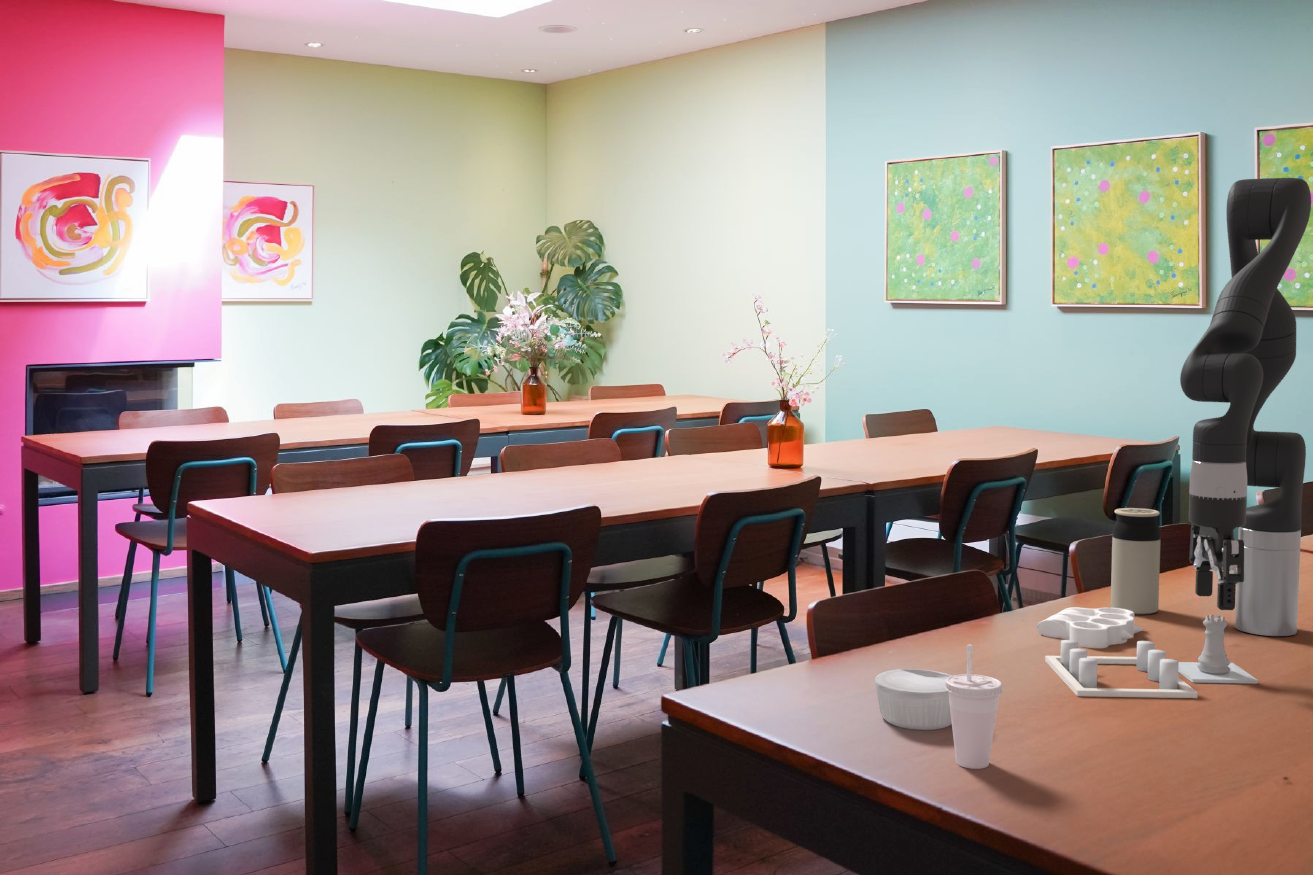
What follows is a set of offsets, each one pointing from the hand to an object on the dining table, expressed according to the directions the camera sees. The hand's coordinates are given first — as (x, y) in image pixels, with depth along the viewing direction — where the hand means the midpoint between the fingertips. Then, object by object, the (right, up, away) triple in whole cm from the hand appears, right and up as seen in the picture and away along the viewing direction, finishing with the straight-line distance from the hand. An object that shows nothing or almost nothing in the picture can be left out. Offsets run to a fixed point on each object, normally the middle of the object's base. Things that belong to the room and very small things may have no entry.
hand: (1214, 602), depth 174 cm
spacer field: (-15, -11, -1) cm, 18 cm away
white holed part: (-9, -9, +24) cm, 27 cm away
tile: (0, -11, +1) cm, 11 cm away
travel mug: (+5, -7, +41) cm, 42 cm away
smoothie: (-44, -14, -35) cm, 58 cm away
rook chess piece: (0, -10, +1) cm, 10 cm away
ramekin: (-47, -13, -19) cm, 52 cm away
